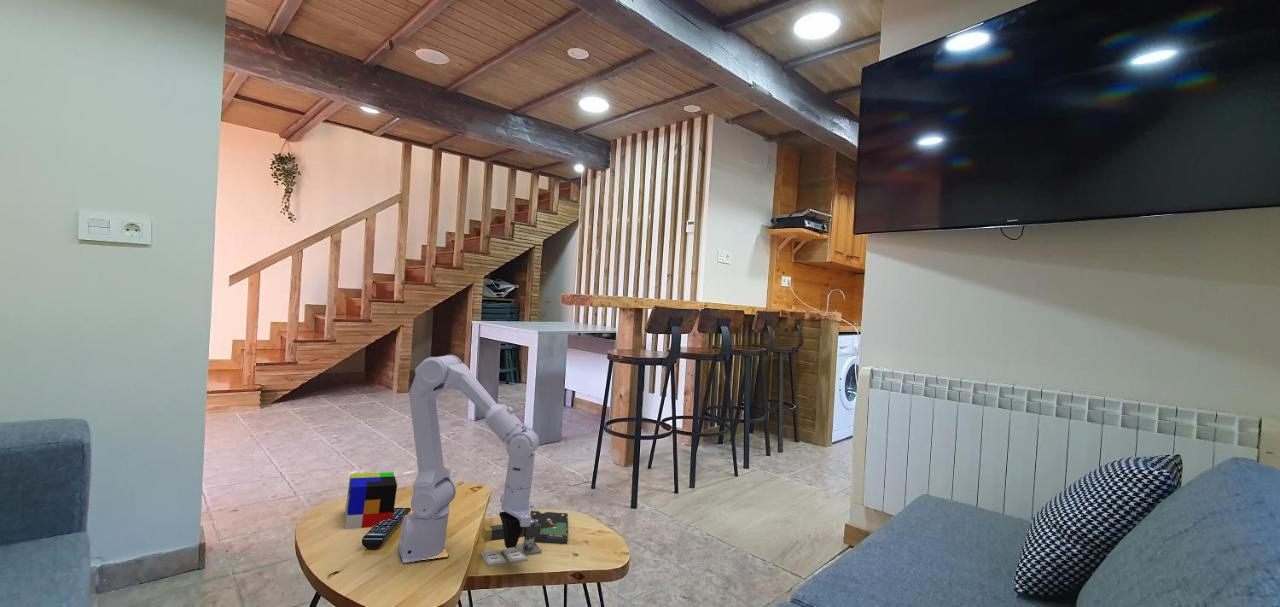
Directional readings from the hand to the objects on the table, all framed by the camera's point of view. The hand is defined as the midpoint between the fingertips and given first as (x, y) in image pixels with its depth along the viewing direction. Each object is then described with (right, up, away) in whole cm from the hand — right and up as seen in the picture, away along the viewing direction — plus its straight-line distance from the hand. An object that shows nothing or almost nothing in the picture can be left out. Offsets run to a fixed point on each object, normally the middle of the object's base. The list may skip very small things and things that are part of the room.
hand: (510, 546), depth 116 cm
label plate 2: (0, -5, +5) cm, 7 cm away
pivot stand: (+2, -5, +9) cm, 10 cm away
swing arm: (-1, -1, +7) cm, 7 cm away
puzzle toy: (-39, 0, +15) cm, 42 cm away
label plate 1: (-5, -4, +3) cm, 7 cm away
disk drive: (+4, -6, +21) cm, 22 cm away
